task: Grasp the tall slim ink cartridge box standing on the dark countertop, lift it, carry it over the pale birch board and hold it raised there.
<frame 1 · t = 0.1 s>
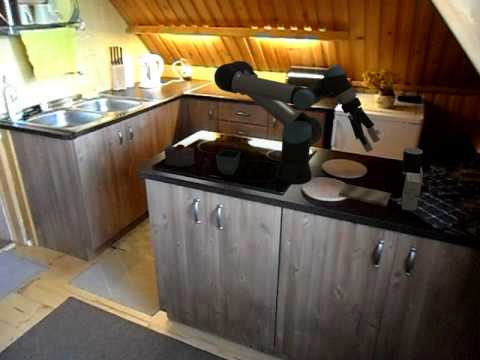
hand: (373, 146, 159), 15 cm above the counter, tool tilted 35°, fingers open, 13 cm apart
birch board: (364, 195, 151), on the counter
dixie cup: (408, 173, 172), on the counter
food item: (180, 165, 179), on the counter
ink cartridge box: (407, 206, 144), on the counter
flower pot: (228, 173, 171), on the counter
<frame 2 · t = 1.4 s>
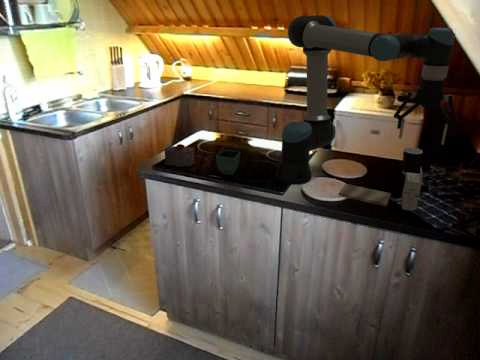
hand: (420, 140, 134), 25 cm above the counter, tool pointing down, fingers open, 13 cm apart
nothing on the counter moved.
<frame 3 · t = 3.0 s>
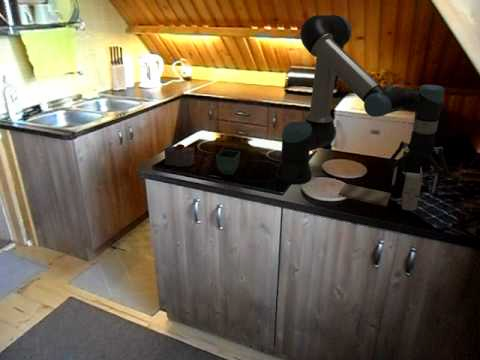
hand: (412, 187, 141), 8 cm above the counter, tool pointing down, fingers open, 13 cm apart
nothing on the counter moved.
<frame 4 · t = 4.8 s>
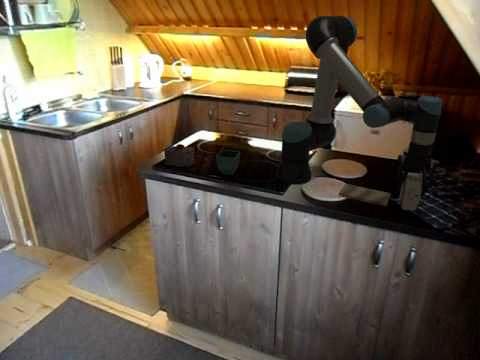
hand: (409, 201, 143), 2 cm above the counter, tool pointing down, fingers closed on ink cartridge box, 5 cm apart
ink cartridge box: (407, 205, 144), on the counter, touching gripper
everything else where it was.
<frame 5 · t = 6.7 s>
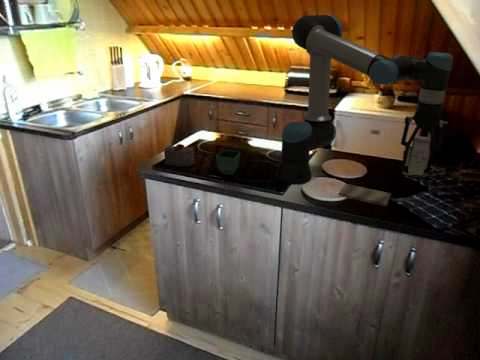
hand: (416, 165, 138), 16 cm above the counter, tool pointing down, fingers closed on ink cartridge box, 5 cm apart
ink cartridge box: (414, 171, 139), point 14 cm above the counter, touching gripper
everything else where it was.
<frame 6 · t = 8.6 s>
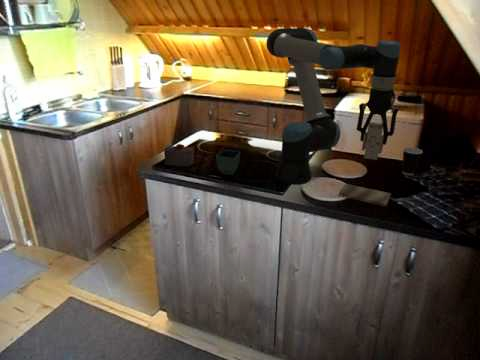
hand: (371, 150, 143), 19 cm above the counter, tool pointing down, fingers closed on ink cartridge box, 5 cm apart
ink cartridge box: (370, 156, 144), point 17 cm above the counter, touching gripper
everything else where it was.
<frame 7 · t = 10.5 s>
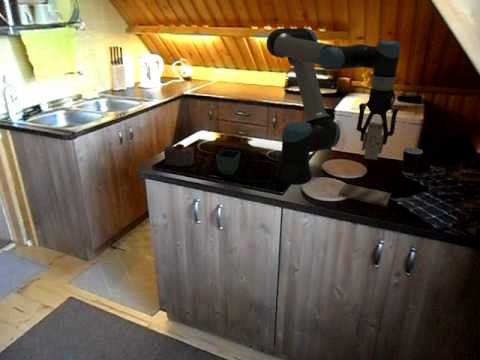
hand: (371, 150, 143), 19 cm above the counter, tool pointing down, fingers closed on ink cartridge box, 5 cm apart
ink cartridge box: (370, 156, 144), point 17 cm above the counter, touching gripper
everything else where it was.
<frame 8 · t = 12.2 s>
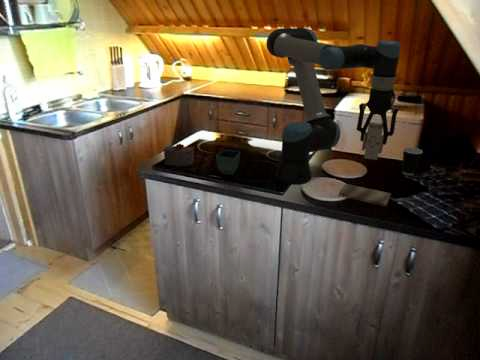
hand: (371, 150, 143), 19 cm above the counter, tool pointing down, fingers closed on ink cartridge box, 5 cm apart
ink cartridge box: (370, 156, 144), point 17 cm above the counter, touching gripper
everything else where it was.
at the end: the gripper is holding ink cartridge box; ink cartridge box inside the target area (0.1 cm from its centre), point 16.7 cm above the counter; ink cartridge box tilted 0° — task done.
